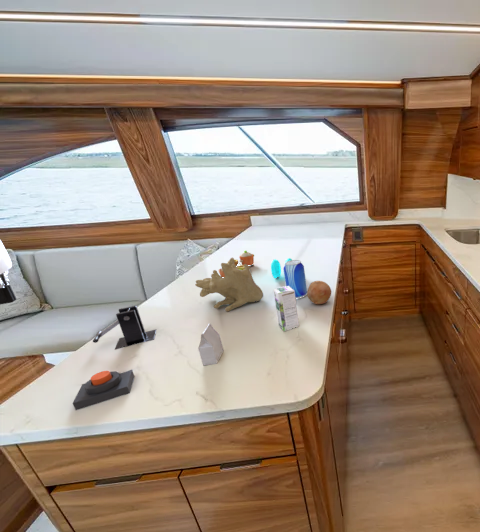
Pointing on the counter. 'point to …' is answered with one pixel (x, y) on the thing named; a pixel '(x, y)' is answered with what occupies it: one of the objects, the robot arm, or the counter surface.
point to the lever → (106, 330)
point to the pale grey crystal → (210, 346)
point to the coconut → (319, 292)
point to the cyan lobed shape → (277, 267)
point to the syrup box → (286, 307)
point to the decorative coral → (231, 286)
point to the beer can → (295, 277)
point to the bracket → (132, 328)
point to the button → (101, 377)
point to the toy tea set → (244, 259)
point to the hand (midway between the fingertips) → (5, 302)
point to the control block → (104, 390)
